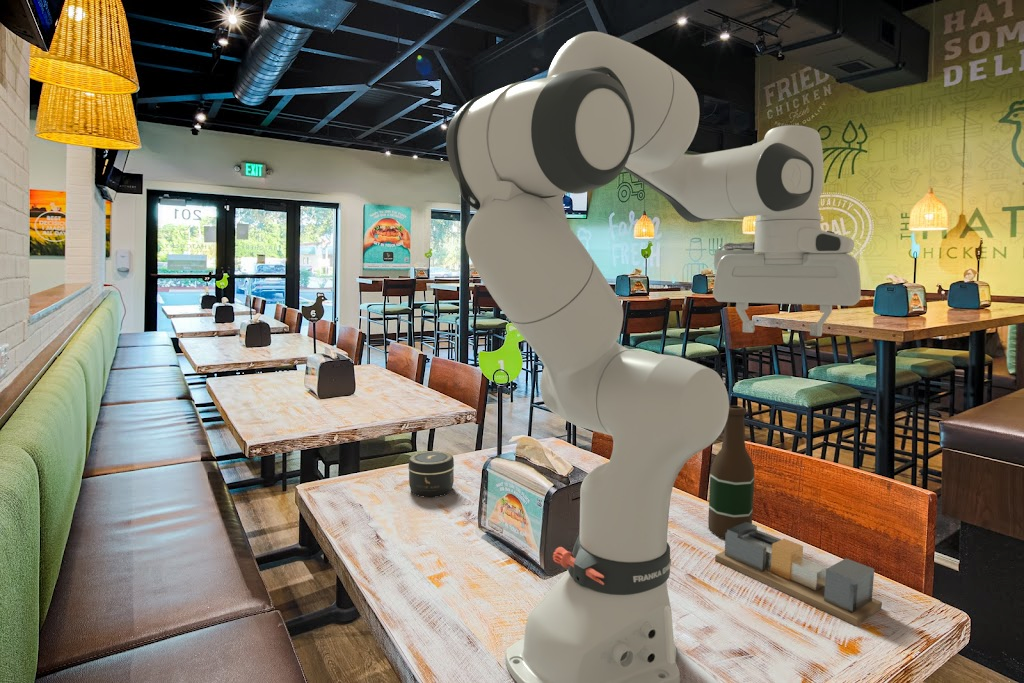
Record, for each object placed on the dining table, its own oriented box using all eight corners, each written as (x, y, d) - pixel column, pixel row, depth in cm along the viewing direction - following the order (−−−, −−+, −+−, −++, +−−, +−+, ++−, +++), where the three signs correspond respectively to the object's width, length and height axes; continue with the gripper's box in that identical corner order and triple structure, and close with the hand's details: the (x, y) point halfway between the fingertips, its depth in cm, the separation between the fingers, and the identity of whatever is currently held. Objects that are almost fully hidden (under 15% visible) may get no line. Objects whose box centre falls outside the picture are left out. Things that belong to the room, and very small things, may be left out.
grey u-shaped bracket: (762, 572, 97) (763, 544, 96) (724, 555, 102) (725, 528, 102) (781, 563, 100) (782, 535, 99) (743, 547, 105) (744, 521, 105)
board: (855, 625, 84) (856, 618, 84) (715, 560, 103) (715, 554, 102) (881, 608, 88) (882, 601, 88) (742, 548, 107) (742, 543, 107)
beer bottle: (755, 543, 109) (762, 412, 106) (710, 539, 111) (716, 410, 108) (747, 525, 117) (754, 403, 114) (705, 521, 118) (710, 401, 115)
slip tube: (814, 591, 91) (816, 561, 90) (733, 555, 102) (734, 528, 101) (826, 584, 93) (828, 555, 92) (745, 549, 104) (746, 524, 103)
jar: (405, 498, 129) (404, 464, 129) (412, 482, 139) (412, 450, 138) (451, 498, 130) (451, 464, 129) (455, 482, 139) (455, 450, 139)
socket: (852, 613, 85) (854, 580, 84) (823, 600, 88) (826, 568, 88) (871, 600, 88) (874, 568, 88) (843, 588, 92) (846, 558, 91)
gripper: (709, 242, 93) (705, 331, 95) (862, 239, 82) (855, 340, 84) (720, 243, 98) (716, 328, 100) (865, 240, 87) (858, 336, 89)
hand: (781, 334), depth 92 cm, fingers open, 8 cm apart
